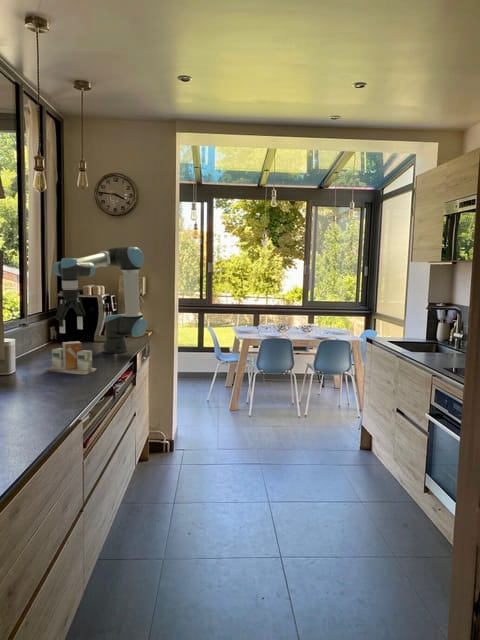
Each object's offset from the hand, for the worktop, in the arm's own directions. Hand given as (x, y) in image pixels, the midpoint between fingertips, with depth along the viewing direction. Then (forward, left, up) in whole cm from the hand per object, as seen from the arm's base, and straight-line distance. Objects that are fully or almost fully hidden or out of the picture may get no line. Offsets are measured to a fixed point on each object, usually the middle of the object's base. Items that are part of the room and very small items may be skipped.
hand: (71, 331), depth 223 cm
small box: (0, 0, -19) cm, 19 cm away
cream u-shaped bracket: (0, 0, -20) cm, 20 cm away
